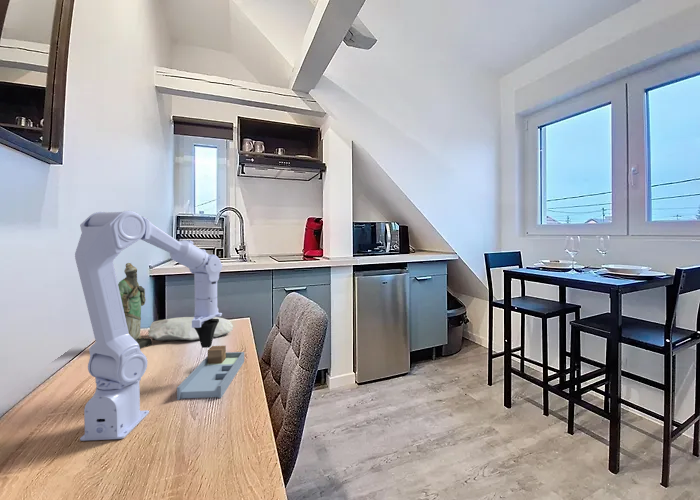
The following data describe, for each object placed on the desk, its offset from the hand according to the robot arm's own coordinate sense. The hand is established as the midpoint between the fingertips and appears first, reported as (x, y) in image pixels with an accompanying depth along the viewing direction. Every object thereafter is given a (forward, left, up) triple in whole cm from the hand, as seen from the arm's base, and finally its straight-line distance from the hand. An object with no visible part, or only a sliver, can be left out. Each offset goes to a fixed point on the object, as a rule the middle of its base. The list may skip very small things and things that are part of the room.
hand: (206, 346), depth 87 cm
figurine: (+28, +36, -9) cm, 47 cm away
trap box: (0, -2, -9) cm, 9 cm away
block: (+8, 0, -7) cm, 11 cm away
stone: (+41, +20, -9) cm, 46 cm away
